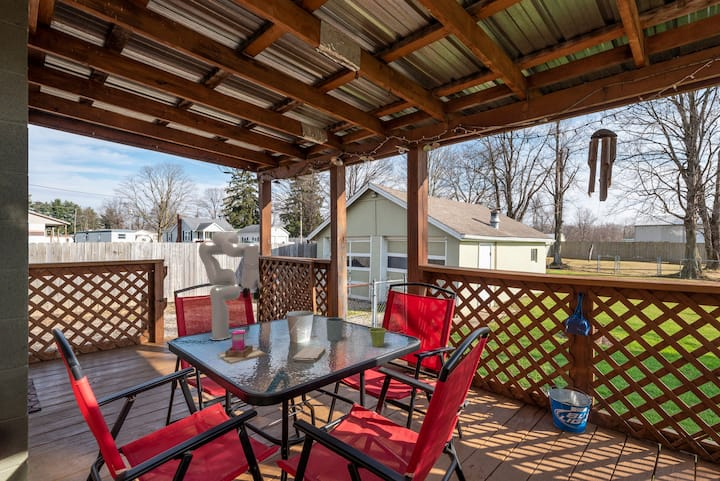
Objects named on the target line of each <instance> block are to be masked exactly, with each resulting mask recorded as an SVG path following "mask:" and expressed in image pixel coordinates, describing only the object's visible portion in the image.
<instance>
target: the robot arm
mask: <svg viewBox="0 0 720 481" xmlns="http://www.w3.org/2000/svg"><path fill="white" fill-rule="evenodd" d="M259 249H260V247H259V245H258V244H257V243H256V244H255V243H245V242H243V243H241V242H239V237H238V234H236V233H235V232H232V231H231V232H229V231H227V232H225V231H219V232H216V233H214V234H213V235H212V240H211V241H204V242H201V243H200V245H199V247H198V255H199V258H200V260H201V262H202V264H203V265H204V269H205V272H206V275H207V280H208V282H209V284H210V285H213V287H212V288H210V291H209V298H210V303H211V336H212V338H211V339H215V340H221V339H227V338H230V337H231V338H232V333H231V334H230V308H229V305H228V304H227V303H226V302H227V301H231V300H233V301H234V300H237V299H239V297H240V296H241V290H242V298H243V299H244V298H249V289H251V290H252V289H253V301H257V300H260V292H261V290H262V287H263V284H262V283H261V282H260V270H259V261H260V260H259V256H260V255H259V254H260V252H259V251H260V250H259ZM214 255H215V256H217V255H226V256H227V257H231V258H243V269H242V274H241V281H240V286H239V282H238V278H237V275H236V273H235V271H234V270H233V269H231V268H222V267H221V265H220V261H219V260H218V259H217V258H216V257H215V256H214ZM240 287H241V288H240ZM231 338H230V339H231ZM227 340H228V339H227Z"/></svg>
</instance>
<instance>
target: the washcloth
mask: <svg viewBox="0 0 720 481" xmlns="http://www.w3.org/2000/svg"><path fill="white" fill-rule="evenodd" d="M324 354H326V348H324V347H317V348H316V347H304V348H302V349H301V350H300V351H298V353H296V354H295V355H294V356H293V357H292V362H293V363H294V362H295V363H303V364H314V363H317V362H318V361H319V360H320V358H322V357H323V355H324Z"/></svg>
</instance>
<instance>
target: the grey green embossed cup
mask: <svg viewBox="0 0 720 481" xmlns="http://www.w3.org/2000/svg"><path fill="white" fill-rule="evenodd" d="M344 321H345V320H344V318H343V317H338V316H337V317H336V316H334V317H327V318H326V334H327V337H326V338H327V339H326V340H327V342H334V343H335V342H340V341H342V340H343V331H344V330H343V329H344Z"/></svg>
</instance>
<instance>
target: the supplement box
mask: <svg viewBox="0 0 720 481" xmlns="http://www.w3.org/2000/svg"><path fill="white" fill-rule="evenodd" d="M231 335H232V337H231V343H232V344H231V347H232V351H244V350H245V349H246V348H245V345H246V329H238V330H237V329H235V330H233V331H232V332H231Z"/></svg>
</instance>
